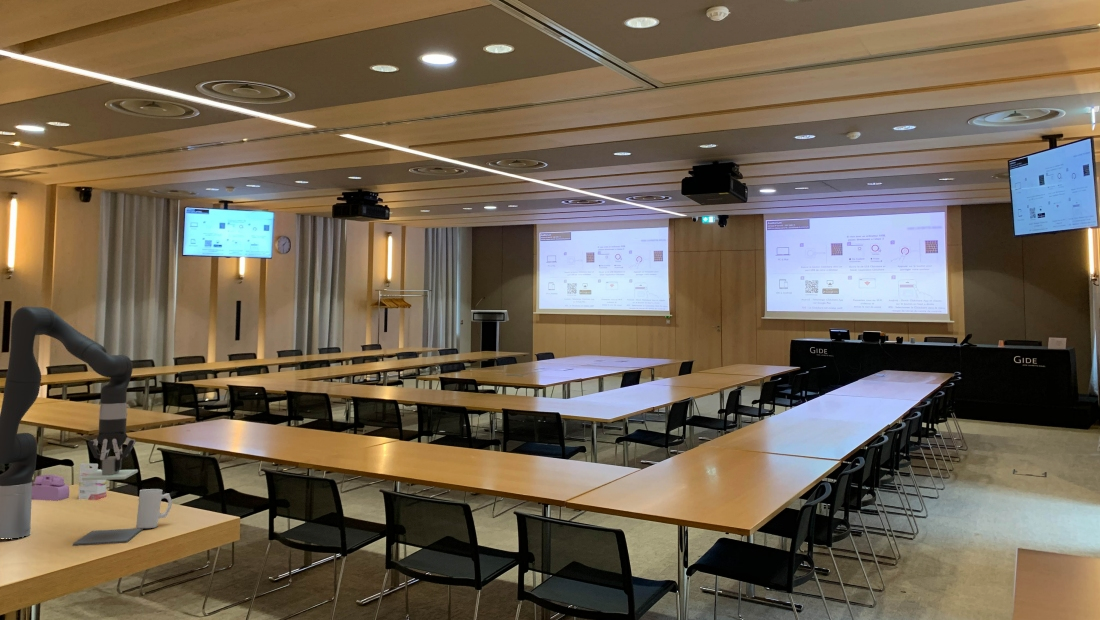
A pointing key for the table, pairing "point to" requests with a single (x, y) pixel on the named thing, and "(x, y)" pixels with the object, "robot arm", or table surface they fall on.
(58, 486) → the toy telephone
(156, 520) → the mug
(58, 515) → the table surface
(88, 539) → the rubber mat
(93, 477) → the cover plate
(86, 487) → the ink cartridge box
